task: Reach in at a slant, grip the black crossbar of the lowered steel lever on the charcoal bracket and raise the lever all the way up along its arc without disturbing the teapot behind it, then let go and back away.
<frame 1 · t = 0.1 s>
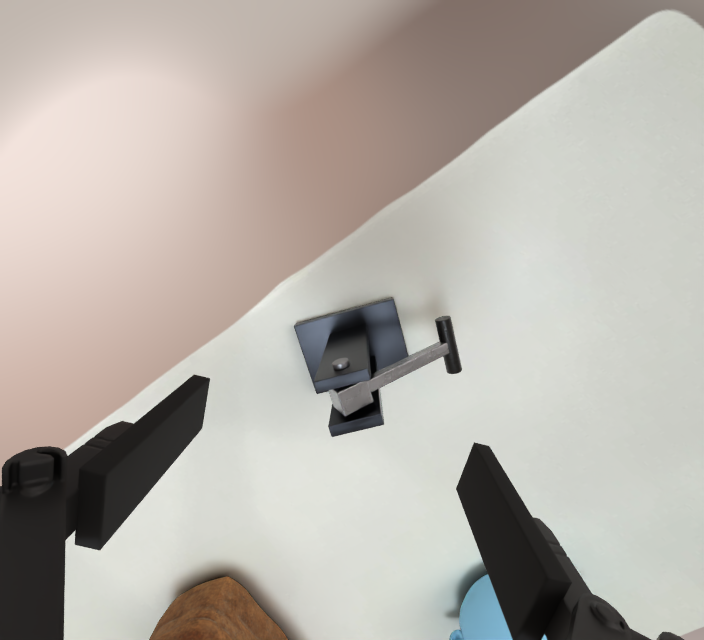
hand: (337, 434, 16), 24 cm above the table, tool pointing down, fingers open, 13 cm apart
lever: (399, 369, 30), point 11 cm above the table, hinge at -28.0°
bread: (250, 634, 53), on the table
teapot: (511, 606, 50), on the table
bracket: (353, 345, 41), on the table
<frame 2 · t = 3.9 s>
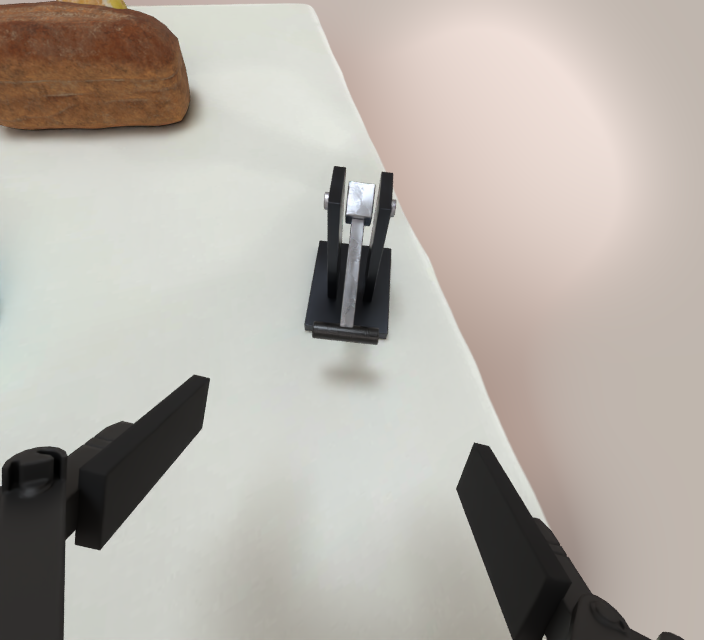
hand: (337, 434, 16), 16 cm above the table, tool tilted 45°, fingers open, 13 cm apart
lever: (353, 264, 28), point 11 cm above the table, hinge at -28.0°
bread: (105, 112, 53), on the table
fruit: (112, 49, 63), on the table
bracket: (350, 289, 40), on the table
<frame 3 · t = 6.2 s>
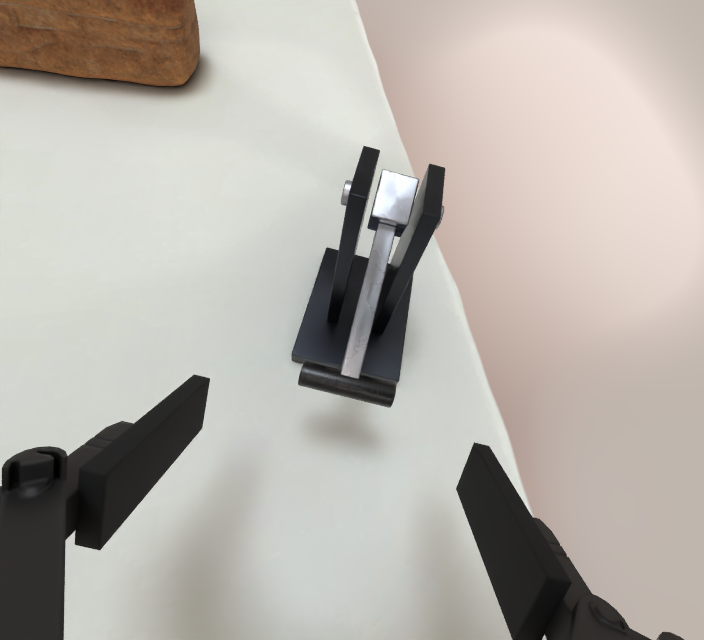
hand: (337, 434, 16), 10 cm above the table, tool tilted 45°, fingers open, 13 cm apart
lever: (371, 287, 20), point 11 cm above the table, hinge at -28.0°
bread: (95, 61, 45), on the table
bracket: (356, 314, 31), on the table
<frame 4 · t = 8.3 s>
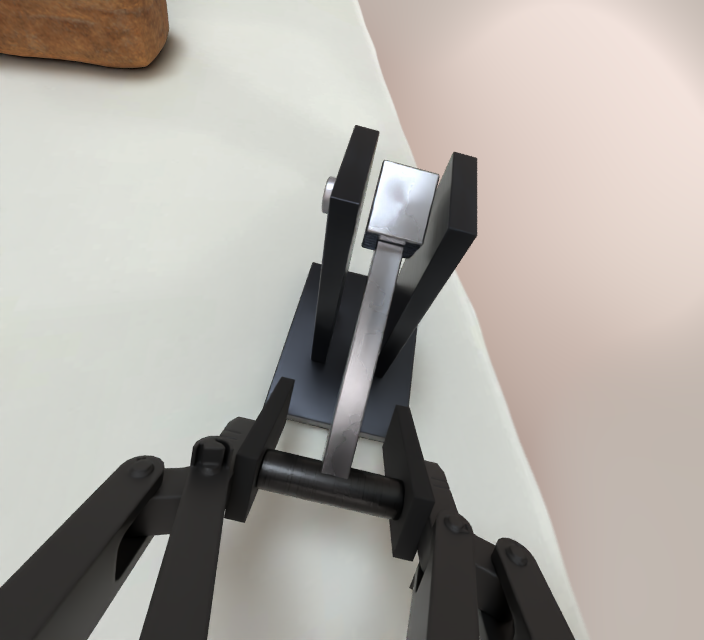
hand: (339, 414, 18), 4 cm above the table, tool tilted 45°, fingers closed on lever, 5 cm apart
lever: (367, 337, 13), point 11 cm above the table, hinge at -28.0°, touching gripper
bread: (44, 40, 38), on the table
bracket: (350, 348, 25), on the table
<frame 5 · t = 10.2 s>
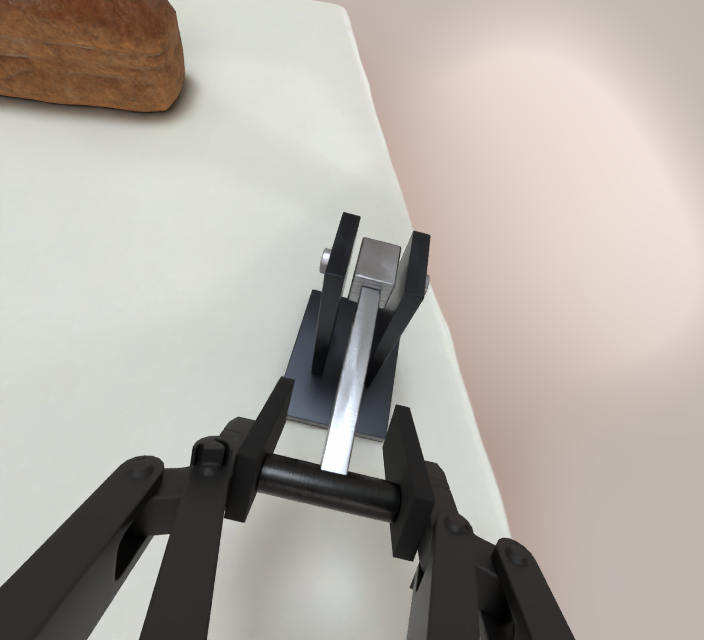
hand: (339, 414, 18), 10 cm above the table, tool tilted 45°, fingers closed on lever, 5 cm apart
lever: (357, 355, 16), point 13 cm above the table, hinge at -0.5°, touching gripper
bread: (76, 85, 44), on the table
bracket: (343, 362, 30), on the table
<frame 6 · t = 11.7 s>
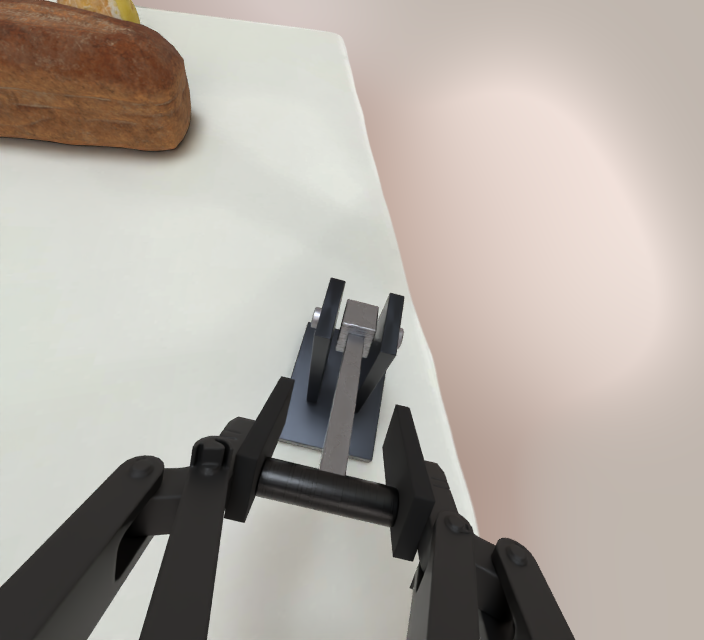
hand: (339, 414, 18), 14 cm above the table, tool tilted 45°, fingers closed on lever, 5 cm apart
lever: (347, 384, 18), point 15 cm above the table, hinge at 23.2°, touching gripper
bread: (90, 125, 47), on the table
fruit: (115, 53, 57), on the table
bracket: (335, 389, 33), on the table
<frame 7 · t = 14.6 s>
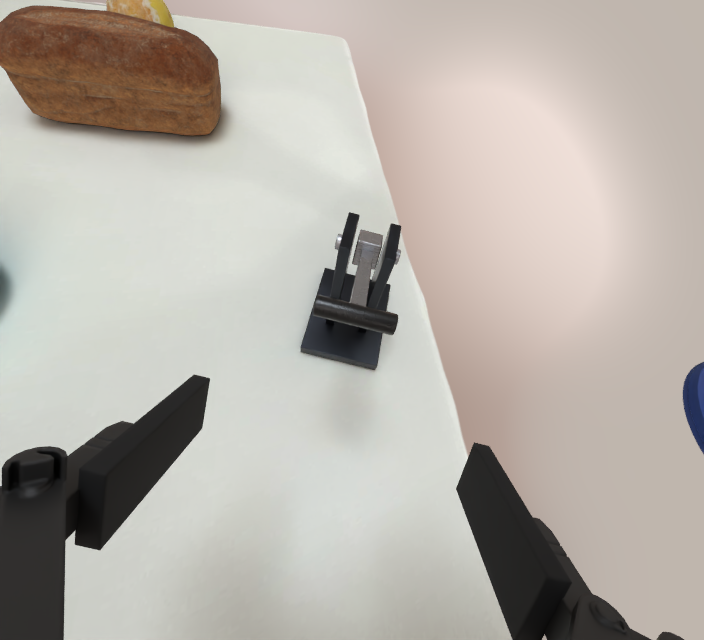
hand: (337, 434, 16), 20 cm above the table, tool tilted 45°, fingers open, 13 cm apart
lever: (362, 274, 27), point 15 cm above the table, hinge at 23.4°
bread: (137, 114, 56), on the table
fruit: (151, 54, 66), on the table
bracket: (347, 318, 42), on the table
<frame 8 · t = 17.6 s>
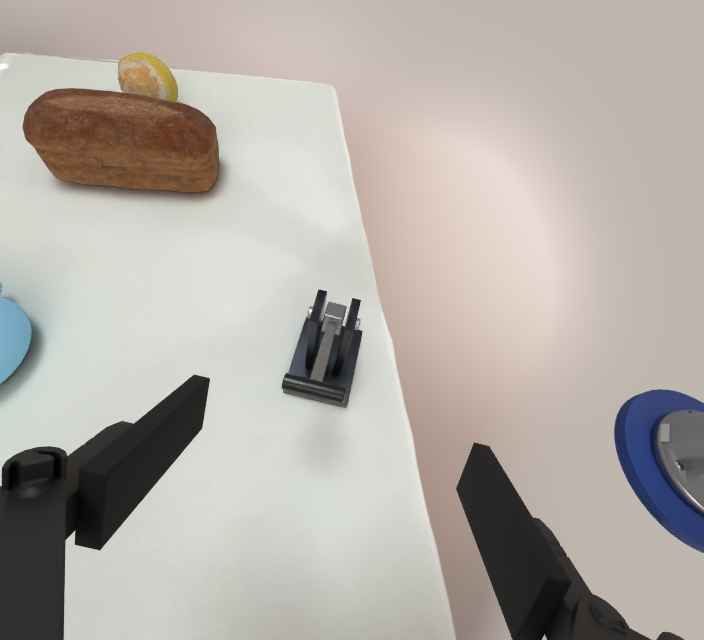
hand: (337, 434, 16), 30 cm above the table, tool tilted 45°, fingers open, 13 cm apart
lever: (325, 346, 34), point 15 cm above the table, hinge at 23.4°
bread: (145, 172, 64), on the table
fruit: (157, 110, 73), on the table
bracket: (324, 361, 50), on the table
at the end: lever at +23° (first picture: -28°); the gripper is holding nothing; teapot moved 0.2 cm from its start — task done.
